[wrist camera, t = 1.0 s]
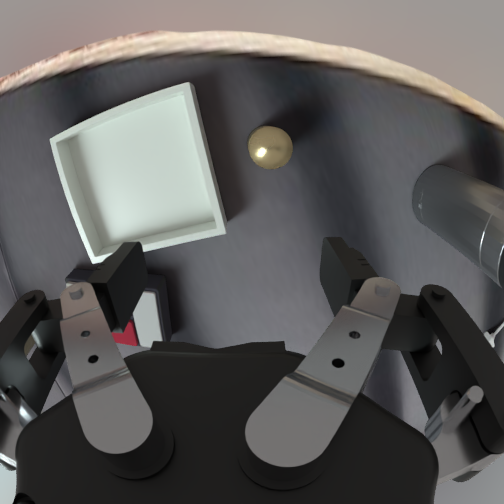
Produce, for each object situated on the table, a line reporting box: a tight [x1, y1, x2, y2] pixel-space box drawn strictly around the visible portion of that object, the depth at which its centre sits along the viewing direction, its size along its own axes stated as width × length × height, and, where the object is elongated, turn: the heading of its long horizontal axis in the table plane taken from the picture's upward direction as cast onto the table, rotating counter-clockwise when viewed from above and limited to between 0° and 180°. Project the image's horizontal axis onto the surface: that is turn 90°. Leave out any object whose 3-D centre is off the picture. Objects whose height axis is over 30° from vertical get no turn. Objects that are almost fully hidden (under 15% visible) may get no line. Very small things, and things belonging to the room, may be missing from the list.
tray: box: [50, 82, 227, 264], centre depth 29 cm, size 18×17×4 cm
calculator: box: [65, 269, 172, 348], centre depth 37 cm, size 11×4×15 cm
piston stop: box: [247, 126, 293, 169], centre depth 27 cm, size 4×4×6 cm
